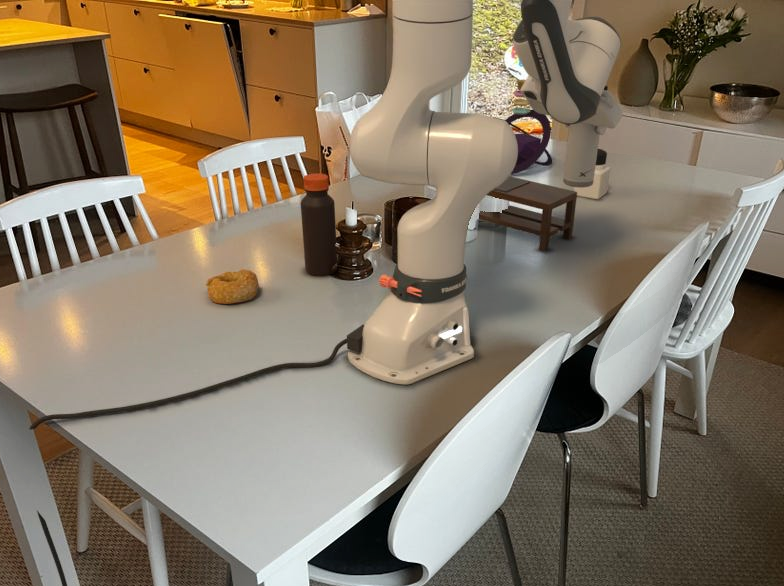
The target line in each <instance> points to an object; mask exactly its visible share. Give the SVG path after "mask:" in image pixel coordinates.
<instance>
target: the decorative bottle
mask: <svg viewBox="0 0 784 586" xmlns="http://www.w3.org/2000/svg"><path fill="white" fill-rule="evenodd" d="M525 80H526V79H524V78H522V79H517V80H516V84H517V88H516V89H517V90H514V91H513V92H512V94H513V96H515V97H516V98H519V99H513V100H512V103H513V104H514V106H516V107H513V108H512V109H511V112H513V114H512V115H509V116H508V117H507V118H506V119H502V118H499V117H495V116H492V117H493V118H497V119H500V120H504V121H506V122H507V123H508V124H509V125H510V127H511V128H512V127H513V128H514V129H517V131H520V132H521V133H514V134H515V136H516V140H517V144H518V156H517V161H516V165H515V167H514V169H513V171H512V173H511V174H510V175H514V174H519V173H521V172H523V171H525V170H527V169H529V168H530V167H531V166H532V165H534V164H535V165H538V166H544V167H547V166H551V165H553V158H552V155H551V154H550V153H549V151H548V150H547V147H548V145H549V143H550V139H551V133H552V127H551V121H550V120H549V118H548V117H547V116H548V115H544V114H539V113H537V112H536V111H534V110H533V109H532V108H531V109H530V108H526V107H527V106H530V105H529V103H528V102H527V100H526V98H525V97H524V96H523V95H522V93H521V92H520V90H521V88H522V86H523V84H524V82H525ZM524 98H525V99H524ZM522 118H532V119H535V120H536V121H537V122H539V124H540V126H541V128H542V138H539V137H537V136H534V135H535V134H533V135H531V134H529V133H528V132H527V131H526V130H523V129H522V128H521V127H520V126H517V125H515V124H514V123H513V122H515V121H517V120H519V119H522ZM544 153H545V155H546V157H547V158H546V161H538V160H539V159H540V157H542V155H543V154H544Z"/></svg>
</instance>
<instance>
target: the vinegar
mask: <svg viewBox="0 0 784 586" xmlns="http://www.w3.org/2000/svg"><path fill="white" fill-rule="evenodd" d="M329 179H330V178H329V175H328V174H325V173H319V172H318V173H309V174H305V175H304V176H303V188H304V191H305V196H304V197H302V199H301V200H300V214H301V215H300V216H301V229H302V241H303V242H302V243H303V253H304V254H303V257H304V268H305V272H306V273H307V274H309V275H312V276H315V277H324V276H330V275H333V274H335V273H336V272H337V271H338V268H337V269H334V270H332V267H333V266H334V265H335V264H336V263H337V264H338V252H337V253H336V252H334V250H333V249H334V246H335V244H337V228H336V227H337V225H336V206H335V205H336V204H335V200H334V199H333V197H332V196H331V195H329V193H328V191H329V188H330V183H329V182H330V181H329Z"/></svg>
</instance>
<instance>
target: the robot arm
mask: <svg viewBox="0 0 784 586" xmlns="http://www.w3.org/2000/svg"><path fill="white" fill-rule="evenodd" d="M572 3H573V0H519V4H520V13H521V20H520V22H519V24H518V25H517V26H516V29H515V31H514V32H513V33H514V34H513V36H512V44H513V48H514V51H515V53H516V56H517V58H518V60H519V62H520V64H521V66H522V67H523V69H524V71H525V73H526V74H527V75H528V76H527V77H526V79H524V80H525V82H524V84H523V86H522V88H521V90H519V91H520V92H521V93H522V95H523V96H524V97H523V98H525V100H527V102H528V103H529V105H528V106H530V108H531V110H532V109H533V110H534V111H536V112H537V113H539V114H544V115H546V116H549V117H550V118H551V119H553V120H554V121H556V122H558V123H559V124H563V125H564V126H565V127H566V129H567V128H568V129H569V127H570V125H571V124H577V123H580V122H582V123H587V124H592V125H595V126H596V127H595V128H594V131H595V132H596V134H599V135H600V136H604V135H605V133H606V132H607V129H610V130H611V129H612V130H613V129H615V128H616V127H617V126H618V124H619V123H620V121H621V119H623V118H622V117H623V116H624V111H623V109H622V108H621V106H620V104H619V103H618V101H617V99H616V97H614V95H613V94H612V93H611V92H609V91H608V90H607V91H606V90H604V87H605V86H607V82H608V80H609V77H610V75H611V73H612V71H613V67H614V65H615V63H616V61H617V58H618V56H619V52H620V50H621V47H622V40H621V37H620V35H619V33H618V31H617V30H616V28H615V27H614V26H613V25H612V24H611V23H610V22H609V21H607V20H606V19H604V18H602V17H599V16H585V17H581V18H580V17H579V18H576V19H569V17H570V12H571V8H572ZM473 18H474V0H392V57H391V58H392V59H391V60H392V62H391V69H390V75H389V80H388V83H387V85H386V87H385V89H384V91H383V93H382V95H381V96H380V98H379V99H378V101H377V102H376V103H375V104H374V105H373V107H371V108H370V109H369V110H368V111H366V112H365V113H364V114H362V115H361V116H360V117H359V119H358V120H357V121H356V122H355V124H354V126H353V128H352V130H351V133H350V138H349V147H348V148H349V155H350V159H351V161H352V163H353V166H354V168H355V169H356V170H357V172H358V173H359V174H360V175H361V176H362V177H364V178H368V179H371V180H375V181H378V182H383V183H387V184H392V185H393V184H395V185H409V186H412V185H413V186H426V187H427V186H428V187H433V188H434V189H435V191H436V193H435V196H434V197H433V198H431V199H429V200H427V201H425V202H422V203H420V204H417V205H415V206H413V207H412V208H410V209H408V210H407V211H406V212H405V213H403V215H402V216H401V218H400V219H399V220H398V221H399V222H398V223H397V230H396V231H397V232H396V233H397V263H396V264H395V267H394V271H393V274H392V276H389V275H387V274H382V275H381V276H380V278H379V280H378V281H379V282H378V283H379V286H380V287H382V288H386V289H388V290H389V291H388V293H387V294H386V296H385V297H384V298H383V300H382V301H380V303H379V304H378V306H377V308H376V309H375V310H374V311H373V313H372V314H371V315H370V317H368V319H367V320H366V321H365V323H364V324H361V325H360V326H358V327H357V328H356V329H354V330H353V331H351V332H350V333H348V334H347V335H346V338H344V339H342V340H341V341H340V342H338V343H337V344H336V345H335V347H334V348H333V351H331V354H330V356H328V357H327V358H326V359H323V360H321V361H316V362H286V363H280V364H276V365H271V366H269V367H265V368H262V369H261V368H260V369H258V370H255V371H252V372H250V373H246V374H244V375H240V376H238V377H237V376H236V377H234V378H231V379H228V380H224V381H222V382H219V383H216V384H212V385H210V386H206V387H203V388H200V389H196V390H192V391H189V392H185V393H182V394H177V395H174V396H170V397H166V398H162V399H156V400H152V401H148V402H142V403H137V404H132V405H126V406H119V407H112V408H104V409H94V410H87V411H81V412H74V413H56V414H55V413H53V414H48V415H44V416H41V417H40V418H37V419H36V420H35V421H33V423H32V424H31V425H30V426H29V428H28V429H29V430H31V431H32V430H35V429H36V428H37V427H39V425H41V424H43V423H45V422H48V421H51V420H71V419H79V418H86V417H94V416H102V415H109V414H117V413H123V412H129V411H130V412H131V411H134V410H139V409H140V410H141V409H145V408H151V407H155V406H159V405H165V404H168V403H172V402H177V401H180V400H184V399H188V398H191V397H196V396H199V395H202V394H205V393H209V392H211V391H215V390H218V389H221V388H224V387H226V386H230V385H233V384H237V383H239V382H240V383H241V382H242V381H246V380H248V379H251V378H254V377H257V376H260V375H262V374H267V373H269V372H273V371H277V370H281V369H287V368H288V369H289V368H317V367H322V366H325V365H327V364H330V363H332V361H334V360H335V358H336V356H337V354H338V352H339V350H340V349H341V348H342V347H343V346H345V345H346V349H347V350H349V351H348V352H347V359H348V361H349V362H350V364H351V365H352V366H353V367H355V368H356V369H358V370H359V371H361V372H363V373H365V374H367V375H368V376H371V377H373V378H375V379H378V380H381V381H383V382H387V383H391V384H396V385H404V386H405V385H411V384H414V383H416V382H419V381H421V380H423V379H424V380H425V379H426V378H428V377H431V376H433V375H436V374H439V373H441V372H444V371H445V370H448V369H450V368H452V367H455V366H458V365H460V364H463V363H465V362H467V361H470V360H472V359H473V358H475V349H474V347H473V346H472V344H471V333H470V320H469V317H470V316H469V315H470V314H469V308H468V305H467V302H466V297H465V290H466V287H467V280H468V274H467V266H466V264H465V253H466V243H467V234H468V225H469V221H470V219H471V216H472V214H473V212H474V210H475V208H476V207H477V208H478V205H479V204H480V203H481V202H482V200H484V199H485V197H486V196H488V195H487V194H488V193H489V192H490V191H492V190H493V189H494V188H496V187H498V186H499V185H501V184H502V183H503V182H504V181H505V180H506V179H507V178H508V177H509V176H511V175H512V174H511V173H512V171H513V169H514V167H515V165H516V161H517V156H518V144H517V140H516V136H515V134H516V133H515V132H514V130H513V128H512V126H511V125H509V124H508V123H507V122H506V121H504V120H505V119H503V120H500V119H501V118H499V119H497V118H498V117H496V118H493V117H494V116H489V115H485V114H480V113H471V112H450V111H449V112H446V111H435V110H432V109H430V106H429V105H430V104H429V103H430V101H431V100H432V99H433V98H436V96H438V95H441V94H443V93H445V92H447V91H450V90H452V89H453V88H455V87H456V86H458V85H459V84H461V83H462V82H463V81H464V80H465V78H467V76H468V74H469V73H470V70H471V67H472V58H473V57H472V53H473V51H472V50H473V21H474V20H473ZM36 513H37V516H38V520H39V523H40V525H41V528H42V530H43V534H44V537H45V539H46V541H47V544H48V547H49V550H50V552H51V555H52V558H53V561H54V565H55V567H56V569H57V573H58V576H59V580H60V582H61V586H68V583H67V579H66V576H65V573H64V570H63V566H62V563H61V561H60V558H59V555H58V551H57V549H56V547H55V543H54V541H53V537H52V536H51V533H50V530H49V526H48V525H47V521H46V519H45V517H44V516H43V515H42V514H41V513H40V512H39V510H36Z"/></svg>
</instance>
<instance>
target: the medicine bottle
mask: <svg viewBox="0 0 784 586" xmlns="http://www.w3.org/2000/svg"><path fill="white" fill-rule="evenodd" d="M607 157H608V152H607V151H606V150H604V149H603V148H598V151H597V158H596V166H595V173H594V181H593V185H591V186H589V187H583V188H579V187H573V191H575V192H577V197H582V198H586V199H592V200H599V199H601V197H604V196H605V195H606V194H607V193H608V190H609V182H610V181H609V180H610V173H611V167H609V166H606V165H607V164H606V163H607V159H608V158H607Z"/></svg>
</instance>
